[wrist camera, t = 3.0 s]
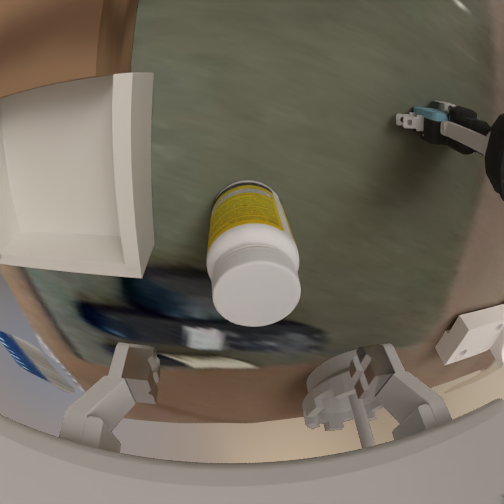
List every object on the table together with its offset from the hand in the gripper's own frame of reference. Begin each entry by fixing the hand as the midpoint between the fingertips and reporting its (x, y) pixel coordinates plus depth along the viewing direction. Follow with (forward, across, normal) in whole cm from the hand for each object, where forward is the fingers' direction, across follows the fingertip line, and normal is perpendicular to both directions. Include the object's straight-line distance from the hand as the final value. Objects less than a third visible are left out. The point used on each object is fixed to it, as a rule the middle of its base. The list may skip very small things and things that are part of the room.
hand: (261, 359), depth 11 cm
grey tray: (+11, +13, -4) cm, 18 cm away
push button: (+11, -12, -10) cm, 19 cm away
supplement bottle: (+11, 0, -1) cm, 11 cm away
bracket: (+12, -34, +12) cm, 38 cm away
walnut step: (+11, +13, -14) cm, 22 cm away
